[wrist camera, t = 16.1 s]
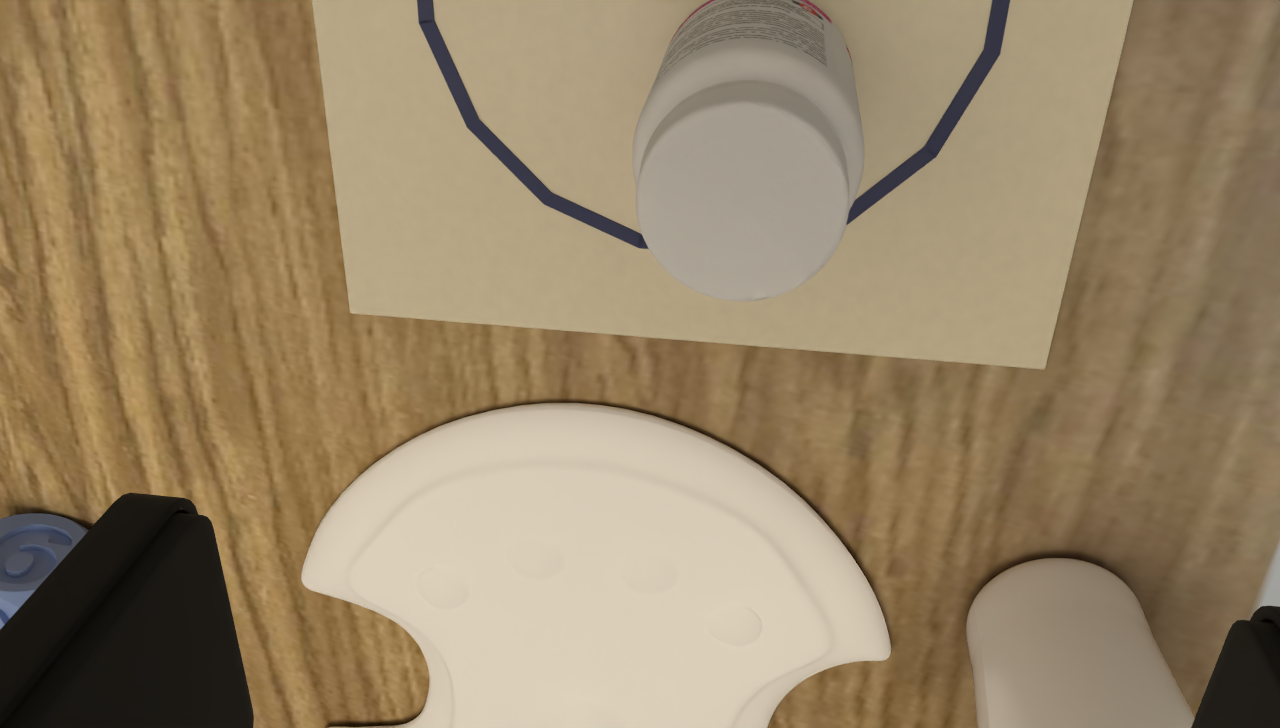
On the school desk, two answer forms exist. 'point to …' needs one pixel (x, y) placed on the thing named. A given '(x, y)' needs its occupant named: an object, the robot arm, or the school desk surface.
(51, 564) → the decorative dice
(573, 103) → the sheet
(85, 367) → the school desk surface
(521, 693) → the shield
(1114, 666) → the drinking glass
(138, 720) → the robot arm
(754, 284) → the pill bottle
